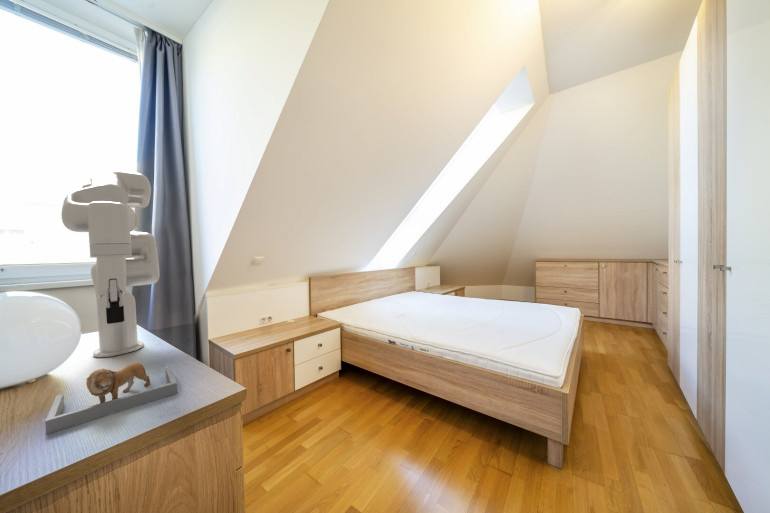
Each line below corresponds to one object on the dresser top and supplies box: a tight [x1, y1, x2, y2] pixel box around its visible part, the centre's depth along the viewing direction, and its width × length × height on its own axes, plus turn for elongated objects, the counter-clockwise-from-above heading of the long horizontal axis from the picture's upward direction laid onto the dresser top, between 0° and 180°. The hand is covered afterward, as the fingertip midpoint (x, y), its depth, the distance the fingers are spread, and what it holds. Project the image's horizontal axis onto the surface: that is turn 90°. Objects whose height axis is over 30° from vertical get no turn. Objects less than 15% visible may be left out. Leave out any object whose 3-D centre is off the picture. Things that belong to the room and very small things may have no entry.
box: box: [44, 366, 178, 435], centre depth 63 cm, size 13×20×2 cm, turn 134°
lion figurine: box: [85, 362, 151, 404], centre depth 64 cm, size 15×5×9 cm, turn 6°
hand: (115, 322), depth 71 cm, fingers closed
